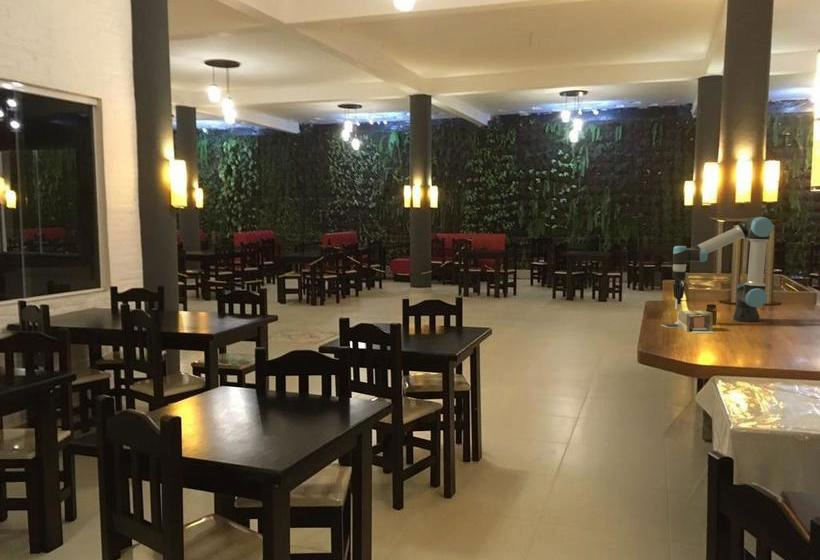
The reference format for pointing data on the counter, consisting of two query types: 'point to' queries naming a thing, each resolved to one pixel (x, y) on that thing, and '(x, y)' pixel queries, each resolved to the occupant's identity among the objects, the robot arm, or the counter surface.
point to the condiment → (713, 310)
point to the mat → (702, 332)
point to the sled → (695, 323)
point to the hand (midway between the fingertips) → (678, 309)
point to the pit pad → (671, 325)
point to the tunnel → (684, 315)
